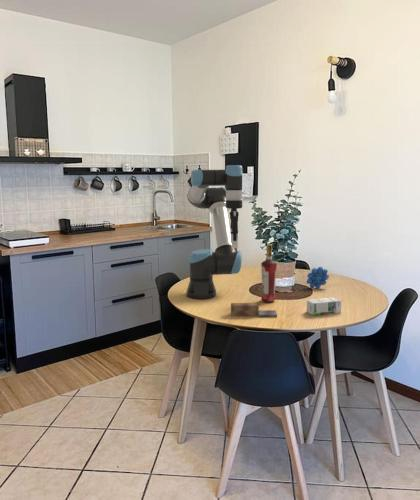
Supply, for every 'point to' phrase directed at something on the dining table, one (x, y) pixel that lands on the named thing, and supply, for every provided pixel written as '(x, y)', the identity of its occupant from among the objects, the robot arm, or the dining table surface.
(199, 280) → the robot arm
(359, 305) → the dining table surface
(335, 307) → the syrup box
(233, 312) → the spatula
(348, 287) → the dining table surface
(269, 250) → the liquor
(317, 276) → the grapes
